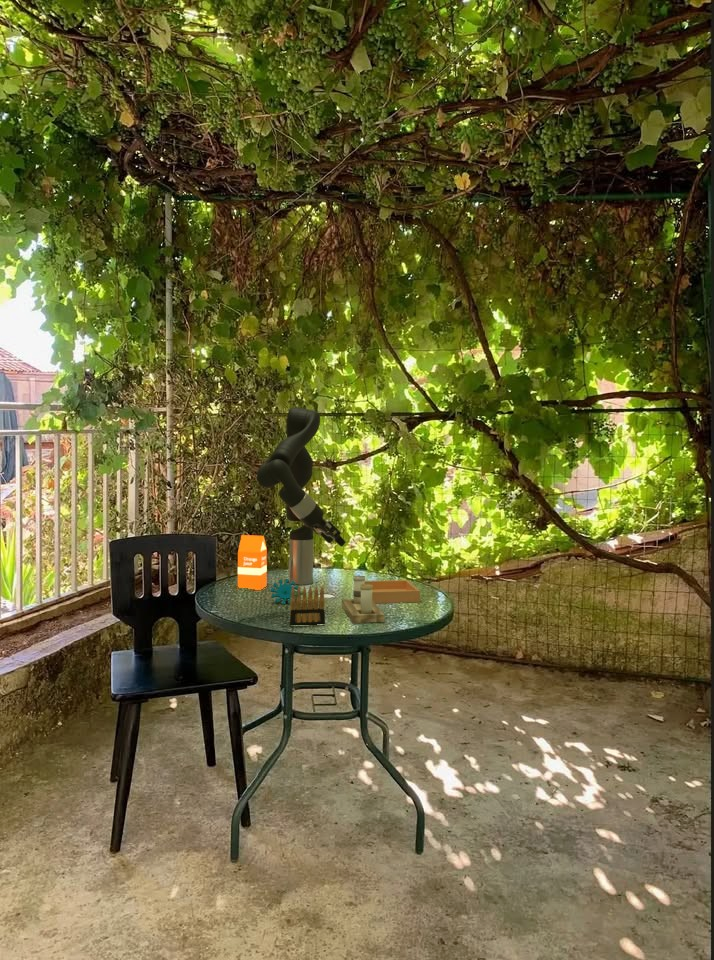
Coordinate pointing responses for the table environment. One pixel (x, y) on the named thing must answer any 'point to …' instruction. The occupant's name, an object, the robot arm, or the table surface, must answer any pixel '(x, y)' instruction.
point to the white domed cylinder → (357, 588)
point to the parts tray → (394, 591)
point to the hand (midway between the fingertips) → (337, 543)
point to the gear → (284, 591)
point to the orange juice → (252, 562)
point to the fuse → (366, 598)
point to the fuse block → (356, 617)
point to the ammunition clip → (307, 607)
